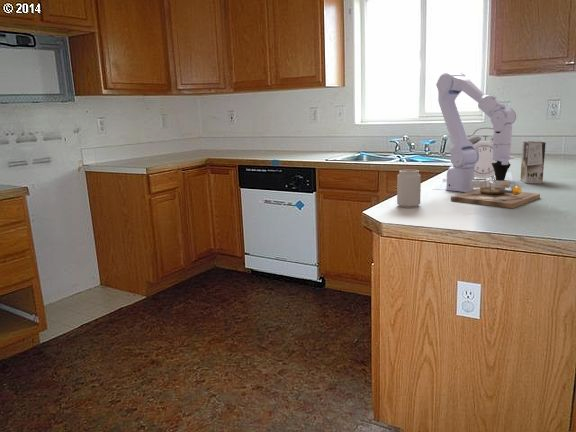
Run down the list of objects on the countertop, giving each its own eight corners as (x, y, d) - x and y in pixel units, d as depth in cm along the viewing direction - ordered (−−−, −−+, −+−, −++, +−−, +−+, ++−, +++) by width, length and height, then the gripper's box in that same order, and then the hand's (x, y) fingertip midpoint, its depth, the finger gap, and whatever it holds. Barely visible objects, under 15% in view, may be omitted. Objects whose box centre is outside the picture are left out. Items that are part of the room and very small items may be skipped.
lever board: (450, 200, 167) (451, 195, 166) (480, 191, 180) (480, 187, 180) (512, 208, 152) (512, 203, 151) (539, 198, 165) (540, 193, 165)
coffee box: (543, 183, 192) (546, 142, 188) (525, 183, 193) (528, 142, 190) (536, 180, 201) (539, 140, 197) (519, 180, 202) (522, 140, 198)
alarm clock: (461, 181, 206) (463, 128, 201) (465, 178, 213) (467, 127, 208) (503, 182, 198) (506, 127, 193) (505, 179, 205) (508, 126, 200)
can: (421, 204, 164) (421, 168, 161) (419, 208, 157) (420, 171, 154) (398, 203, 166) (398, 168, 164) (395, 208, 159) (396, 171, 157)
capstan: (474, 197, 162) (475, 184, 161) (469, 189, 176) (469, 178, 175) (522, 197, 159) (522, 184, 158) (512, 189, 173) (513, 177, 172)
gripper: (519, 145, 161) (516, 186, 164) (509, 142, 175) (507, 179, 178) (496, 146, 163) (494, 186, 166) (489, 142, 176) (487, 179, 179)
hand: (499, 182), depth 172 cm, fingers closed
